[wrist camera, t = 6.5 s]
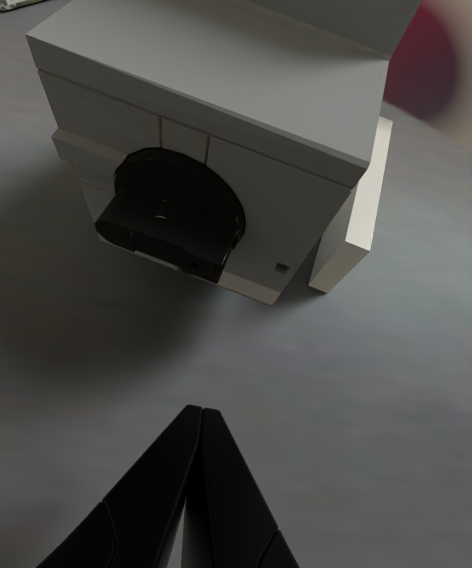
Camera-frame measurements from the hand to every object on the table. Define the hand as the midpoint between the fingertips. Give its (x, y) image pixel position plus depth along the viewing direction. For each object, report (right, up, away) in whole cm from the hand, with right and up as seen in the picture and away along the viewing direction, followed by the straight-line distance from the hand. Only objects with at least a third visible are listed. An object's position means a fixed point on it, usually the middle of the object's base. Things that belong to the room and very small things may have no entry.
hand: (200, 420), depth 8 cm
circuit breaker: (0, +7, +11) cm, 13 cm away
